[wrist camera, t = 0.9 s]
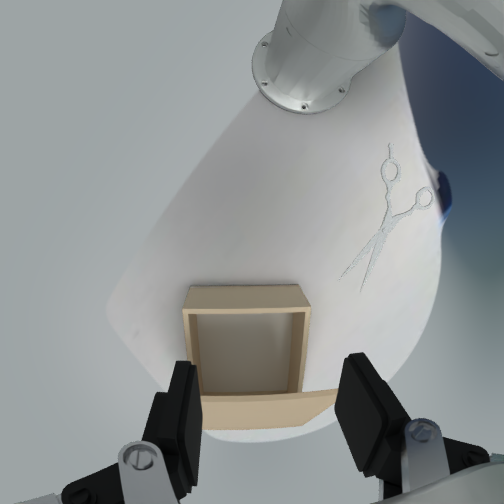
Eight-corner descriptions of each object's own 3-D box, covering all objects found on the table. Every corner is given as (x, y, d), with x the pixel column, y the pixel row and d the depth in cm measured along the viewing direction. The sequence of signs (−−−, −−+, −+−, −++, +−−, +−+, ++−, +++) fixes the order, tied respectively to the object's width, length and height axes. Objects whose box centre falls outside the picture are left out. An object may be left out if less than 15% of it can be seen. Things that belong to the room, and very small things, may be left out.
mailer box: (190, 285, 38) (182, 308, 32) (298, 284, 39) (311, 306, 32) (200, 392, 43) (196, 423, 36) (289, 390, 44) (297, 420, 37)
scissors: (441, 185, 37) (376, 303, 40) (438, 185, 37) (374, 301, 41) (390, 142, 35) (318, 272, 39) (387, 142, 36) (317, 270, 39)
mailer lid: (158, 393, 21) (157, 399, 20) (346, 387, 22) (347, 392, 21) (193, 425, 36) (193, 429, 36) (301, 422, 37) (301, 425, 36)
